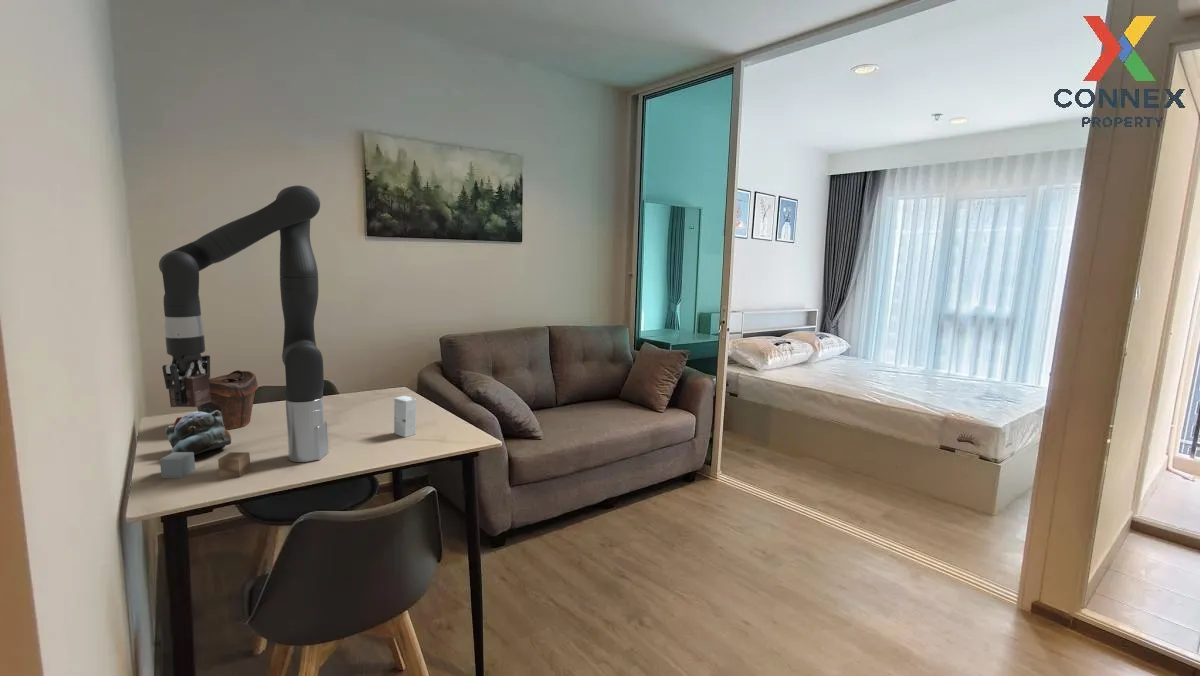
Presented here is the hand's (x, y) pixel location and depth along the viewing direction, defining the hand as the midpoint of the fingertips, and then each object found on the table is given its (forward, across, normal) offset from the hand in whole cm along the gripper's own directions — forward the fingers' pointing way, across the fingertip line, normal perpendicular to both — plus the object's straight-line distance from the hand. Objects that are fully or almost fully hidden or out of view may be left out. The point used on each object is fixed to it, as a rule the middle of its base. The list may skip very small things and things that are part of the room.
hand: (190, 400), depth 134 cm
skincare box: (+21, +36, -42) cm, 59 cm away
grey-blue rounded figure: (+21, +18, +11) cm, 30 cm away
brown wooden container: (+21, +45, +18) cm, 53 cm away
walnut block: (+21, +4, -7) cm, 22 cm away
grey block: (+21, +4, +7) cm, 22 cm away
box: (+1, 0, 0) cm, 1 cm away
